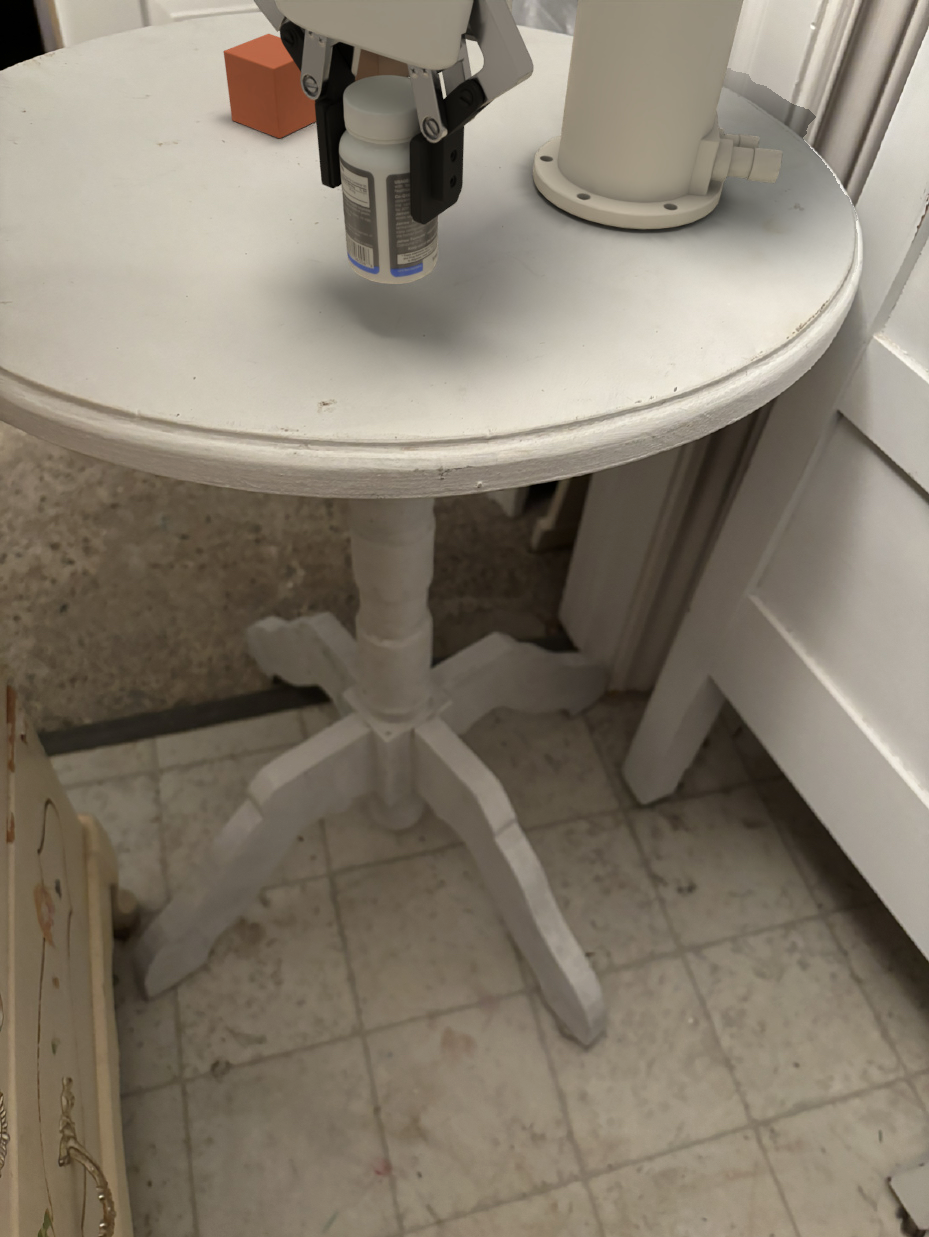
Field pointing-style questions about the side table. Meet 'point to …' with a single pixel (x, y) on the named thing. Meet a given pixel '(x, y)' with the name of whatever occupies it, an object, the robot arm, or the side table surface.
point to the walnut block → (379, 66)
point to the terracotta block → (267, 87)
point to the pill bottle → (382, 183)
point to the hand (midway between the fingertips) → (390, 190)
